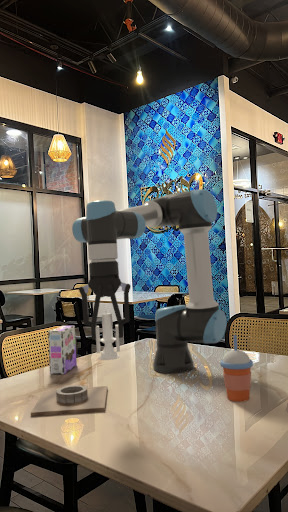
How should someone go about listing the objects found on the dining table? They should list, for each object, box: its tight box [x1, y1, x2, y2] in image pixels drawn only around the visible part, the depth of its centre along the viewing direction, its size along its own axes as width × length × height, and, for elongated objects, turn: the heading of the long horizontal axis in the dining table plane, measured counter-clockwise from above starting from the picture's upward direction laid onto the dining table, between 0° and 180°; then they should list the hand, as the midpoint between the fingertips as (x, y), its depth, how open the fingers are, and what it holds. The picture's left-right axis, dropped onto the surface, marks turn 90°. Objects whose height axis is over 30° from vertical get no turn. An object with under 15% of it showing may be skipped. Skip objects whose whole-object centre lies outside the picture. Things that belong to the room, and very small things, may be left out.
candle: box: [98, 311, 120, 361], centre depth 107 cm, size 5×5×12 cm
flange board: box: [30, 384, 108, 417], centre depth 123 cm, size 20×20×4 cm
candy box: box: [47, 325, 78, 375], centre depth 162 cm, size 14×6×16 cm, turn 168°
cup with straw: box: [220, 334, 254, 403], centre depth 119 cm, size 9×9×18 cm
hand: (108, 351), depth 107 cm, fingers closed on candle, 4 cm apart
